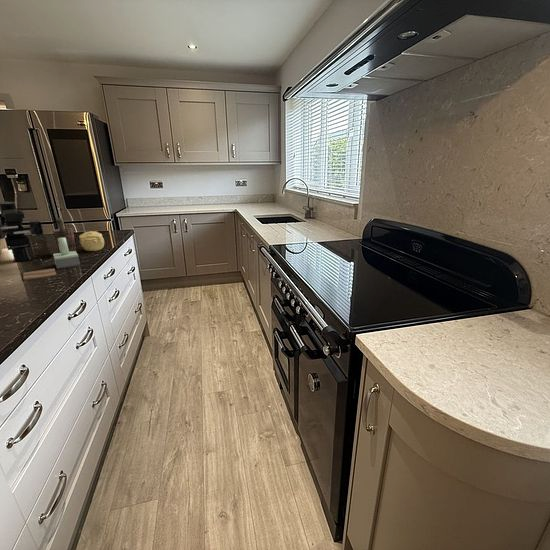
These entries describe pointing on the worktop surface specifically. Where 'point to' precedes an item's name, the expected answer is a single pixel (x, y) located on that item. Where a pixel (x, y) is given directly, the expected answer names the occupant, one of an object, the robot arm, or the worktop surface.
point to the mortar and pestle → (64, 234)
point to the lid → (64, 250)
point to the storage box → (67, 262)
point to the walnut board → (39, 274)
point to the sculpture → (92, 241)
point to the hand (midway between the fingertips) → (18, 234)
